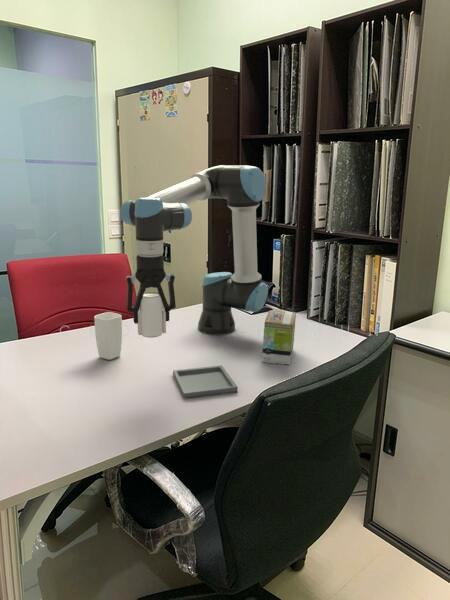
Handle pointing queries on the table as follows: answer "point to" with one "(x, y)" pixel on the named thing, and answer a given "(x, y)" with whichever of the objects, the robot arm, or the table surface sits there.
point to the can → (151, 315)
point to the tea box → (278, 337)
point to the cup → (108, 334)
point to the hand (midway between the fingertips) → (151, 332)
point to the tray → (204, 382)
